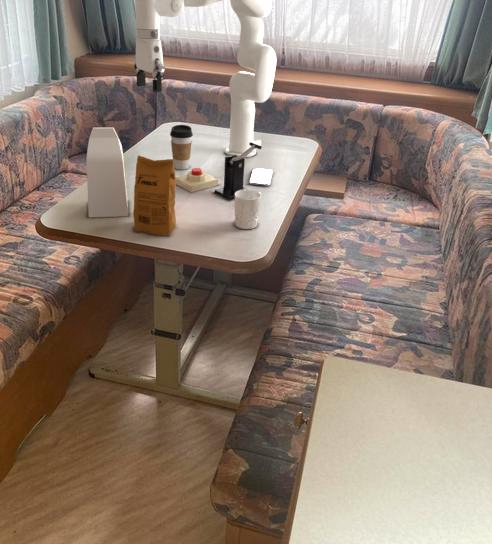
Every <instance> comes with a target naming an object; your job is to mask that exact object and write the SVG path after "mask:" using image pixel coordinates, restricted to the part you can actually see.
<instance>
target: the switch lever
mask: <svg viewBox="0 0 492 544" xmlns="http://www.w3.org/2000/svg"><path fill="white" fill-rule="evenodd" d="M249 145H250V146H251V147H250V148H249V149H248V150H246V151H245V152H244V153H243V154H241V155H240V156H239V157H237V158H236V157H234V158H232V159H231V160H230V161H229V164H230V167H232V168H233V160H236V159H240V158H247V157H246V156H247V155H248V154H249V153H250V152H252V151H253V150H254V149H255V150H257V149H258V150H261V149H262V145H257V144H255V143H252V142H250V143H249Z"/></svg>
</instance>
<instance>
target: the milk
mask: <svg viewBox="0 0 492 544" xmlns="http://www.w3.org/2000/svg"><path fill="white" fill-rule="evenodd" d="M86 151H87V152H86V185H87V186H86V187H87V207H88V208H87V209H88V210H87V213H88V218H110V217H111V218H112V217H114V218H115V217H116V218H117V217H129V206H128V202H129V201H128V192H127V183H126V171H125V161H124V152H123V146H122V142H121V141H120V138H119V136H118V134H117V132H116V130H115V128H114V127H113V126H106V127H105V126H104V127H103V126H101V127H99V126H98V127H92V129H91V133H90V135H89V137H88V143H87V150H86Z"/></svg>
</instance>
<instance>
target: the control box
mask: <svg viewBox="0 0 492 544" xmlns="http://www.w3.org/2000/svg"><path fill="white" fill-rule="evenodd" d="M191 172H192V170H189V171H187V173H186V174H183V175H179V176H175V180H176V185H177V186H179V187H181V188H182V189H184V190H187V191H189V192H190V193H195V192H198V191H202V190H206V189H208V188H212V187H216V186H218V185H219V178H217V177H215V176H213V175H212V174H209V173H207V172H206V171H204V170H202V175H199V176H195V175H192V174H191Z"/></svg>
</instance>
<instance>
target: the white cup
mask: <svg viewBox="0 0 492 544" xmlns="http://www.w3.org/2000/svg"><path fill="white" fill-rule="evenodd" d="M261 201H262V193H261V192H260V191H258V190H254V189H248V188H247V189H244V190H239V191H236V192H235V199H234V224H235V227H237V228H239V229H242V230H252V229H255V228H256V227H257V226H258V220H259V216H260V208H261Z"/></svg>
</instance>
